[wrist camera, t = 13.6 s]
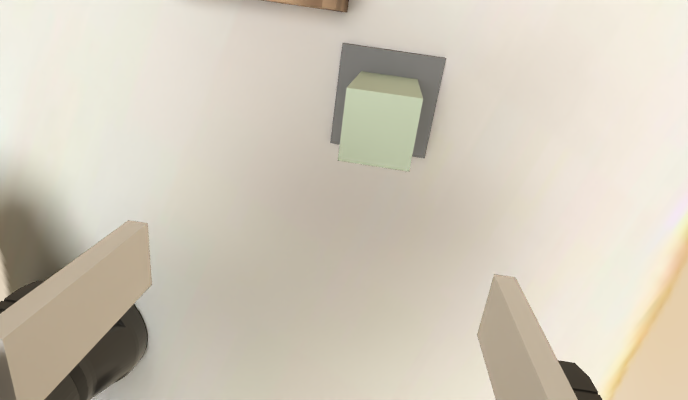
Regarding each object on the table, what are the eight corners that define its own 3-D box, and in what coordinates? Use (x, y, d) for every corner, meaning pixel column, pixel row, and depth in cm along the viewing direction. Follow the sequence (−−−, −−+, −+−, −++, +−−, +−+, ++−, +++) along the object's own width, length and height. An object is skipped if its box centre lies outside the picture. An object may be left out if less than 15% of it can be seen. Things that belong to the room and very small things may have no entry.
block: (361, 71, 38) (346, 87, 28) (417, 79, 38) (423, 98, 28) (353, 126, 40) (337, 160, 30) (407, 134, 40) (409, 171, 30)
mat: (331, 141, 41) (330, 142, 41) (343, 43, 38) (342, 43, 37) (424, 156, 41) (424, 158, 40) (445, 57, 37) (445, 58, 37)
